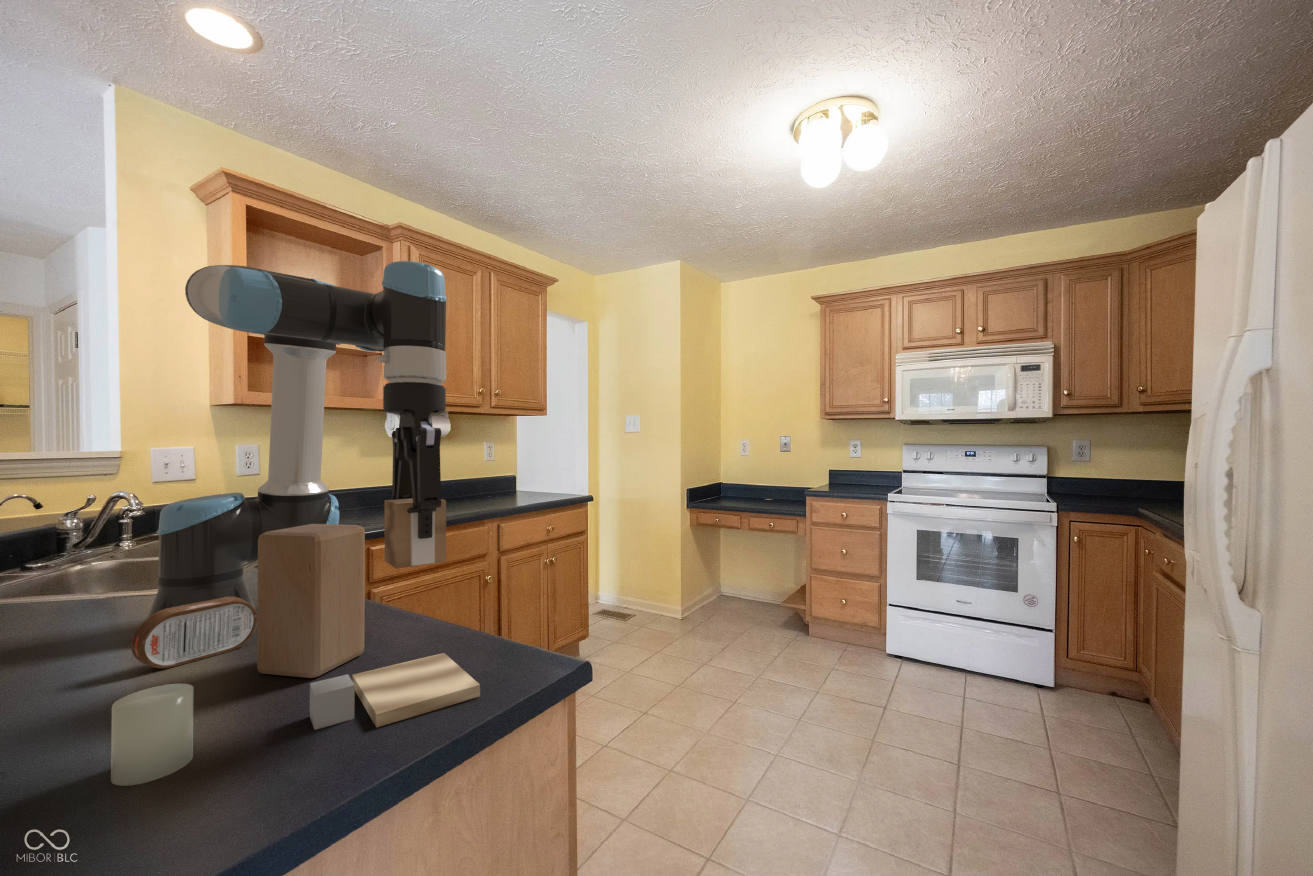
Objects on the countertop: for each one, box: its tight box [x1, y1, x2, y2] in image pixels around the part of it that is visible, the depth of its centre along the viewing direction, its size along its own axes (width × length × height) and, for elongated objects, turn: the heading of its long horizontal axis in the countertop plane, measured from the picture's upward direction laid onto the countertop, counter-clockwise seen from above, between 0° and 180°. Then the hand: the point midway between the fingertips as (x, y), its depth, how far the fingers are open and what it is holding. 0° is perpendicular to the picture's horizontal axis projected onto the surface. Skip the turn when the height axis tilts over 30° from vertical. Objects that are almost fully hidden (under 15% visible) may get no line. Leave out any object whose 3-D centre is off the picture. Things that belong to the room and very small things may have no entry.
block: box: [256, 524, 366, 679], centre depth 80 cm, size 10×10×20 cm
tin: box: [130, 597, 258, 669], centre depth 83 cm, size 15×3×8 cm, turn 150°
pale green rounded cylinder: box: [110, 683, 194, 787], centre depth 54 cm, size 6×6×7 cm
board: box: [351, 652, 481, 728], centre depth 71 cm, size 14×12×2 cm
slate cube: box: [309, 673, 356, 731], centre depth 64 cm, size 4×4×4 cm
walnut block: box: [384, 498, 447, 569], centre depth 71 cm, size 6×6×8 cm
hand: (415, 559), depth 71 cm, fingers closed on walnut block, 6 cm apart
